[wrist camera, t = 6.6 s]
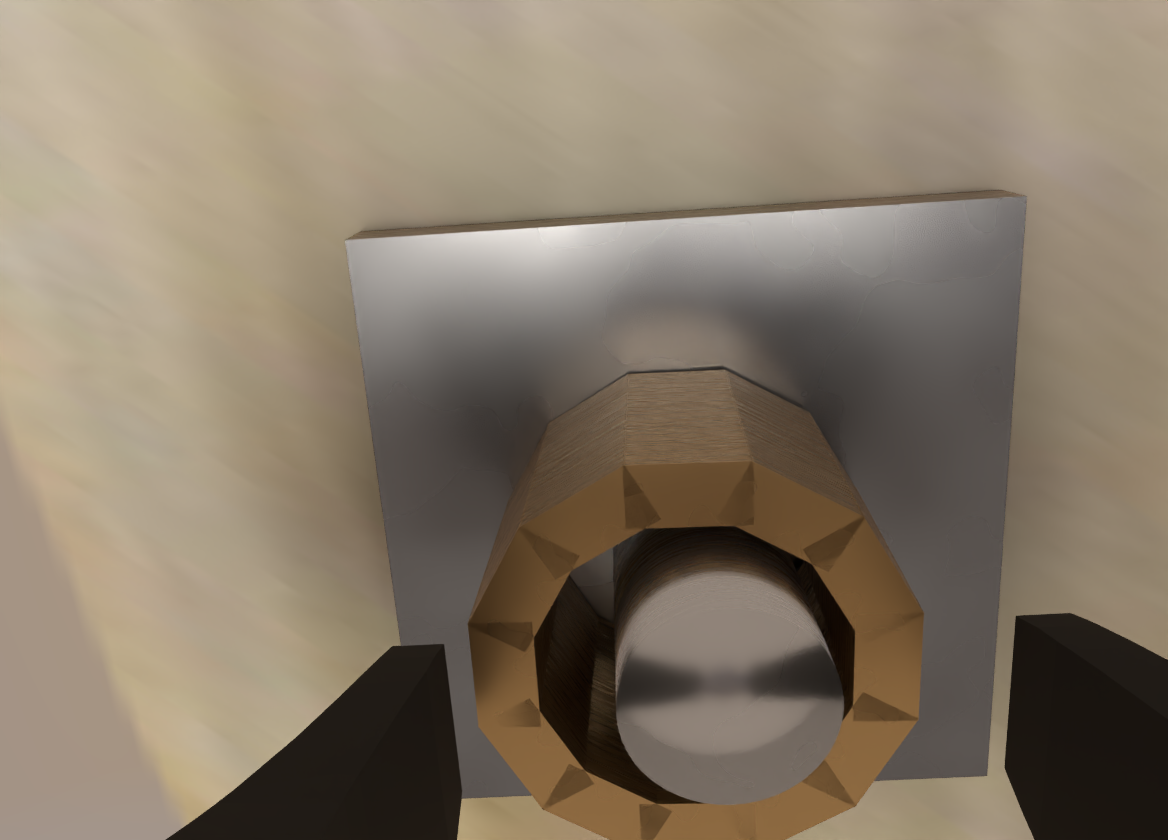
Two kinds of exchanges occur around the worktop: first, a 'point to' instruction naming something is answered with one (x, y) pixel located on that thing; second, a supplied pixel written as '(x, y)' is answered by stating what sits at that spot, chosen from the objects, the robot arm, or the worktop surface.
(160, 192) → the worktop surface
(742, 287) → the piston block
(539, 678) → the bronze ring
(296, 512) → the worktop surface
